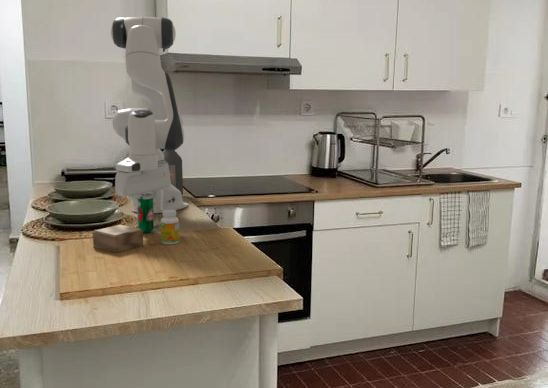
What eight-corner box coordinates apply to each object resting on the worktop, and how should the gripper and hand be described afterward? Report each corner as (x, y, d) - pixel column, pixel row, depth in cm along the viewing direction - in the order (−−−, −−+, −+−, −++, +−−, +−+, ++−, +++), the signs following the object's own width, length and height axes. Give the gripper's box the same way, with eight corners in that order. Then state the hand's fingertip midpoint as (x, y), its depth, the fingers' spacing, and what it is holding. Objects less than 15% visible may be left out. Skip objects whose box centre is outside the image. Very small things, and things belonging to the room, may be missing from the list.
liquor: (173, 198, 238) (171, 128, 233) (156, 197, 242) (153, 128, 237) (185, 195, 247) (183, 127, 241) (168, 194, 250) (166, 127, 245)
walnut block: (121, 240, 169) (120, 224, 168) (143, 245, 164) (142, 228, 163) (93, 247, 161) (92, 230, 160) (116, 252, 156) (115, 235, 155)
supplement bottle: (157, 243, 165) (156, 211, 164) (167, 239, 170) (166, 208, 169) (173, 245, 164) (172, 213, 162) (182, 241, 169) (181, 209, 167)
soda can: (149, 233, 177) (148, 196, 174) (135, 232, 178) (134, 195, 175) (156, 229, 182) (155, 193, 179) (142, 228, 183) (141, 192, 180)
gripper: (161, 158, 185) (162, 198, 188) (111, 165, 169) (113, 209, 172) (174, 159, 182) (175, 201, 185) (124, 167, 165) (126, 212, 168)
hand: (145, 205), depth 178 cm, fingers closed on soda can, 5 cm apart
